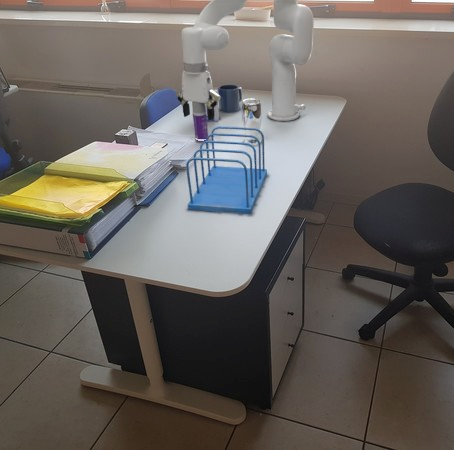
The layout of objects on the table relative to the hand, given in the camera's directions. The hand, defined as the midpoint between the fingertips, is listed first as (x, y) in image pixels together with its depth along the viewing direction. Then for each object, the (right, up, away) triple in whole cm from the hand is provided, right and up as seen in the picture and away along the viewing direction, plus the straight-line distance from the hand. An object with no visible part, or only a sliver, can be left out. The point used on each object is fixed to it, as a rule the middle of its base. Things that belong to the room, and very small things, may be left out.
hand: (198, 117), depth 164 cm
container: (0, -8, +5) cm, 9 cm away
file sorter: (+14, -28, -29) cm, 43 cm away
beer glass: (+19, -9, +3) cm, 21 cm away
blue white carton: (+1, +5, +25) cm, 25 cm away
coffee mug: (+9, +13, +37) cm, 41 cm away
